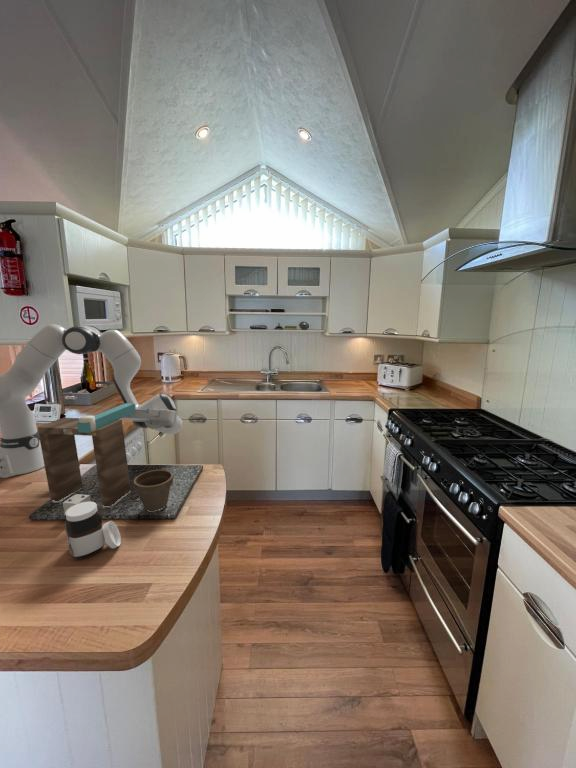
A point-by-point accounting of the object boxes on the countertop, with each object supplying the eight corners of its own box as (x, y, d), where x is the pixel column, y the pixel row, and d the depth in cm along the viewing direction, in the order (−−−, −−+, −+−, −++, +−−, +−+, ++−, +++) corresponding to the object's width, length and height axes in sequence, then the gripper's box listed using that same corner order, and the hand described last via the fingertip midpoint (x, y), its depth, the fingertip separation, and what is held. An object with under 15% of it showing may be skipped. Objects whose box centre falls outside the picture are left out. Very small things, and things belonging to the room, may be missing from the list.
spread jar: (66, 547, 88) (58, 507, 86) (112, 528, 96) (106, 490, 93) (77, 571, 79) (70, 527, 77) (127, 547, 87) (122, 507, 85)
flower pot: (183, 499, 110) (180, 471, 108) (160, 519, 99) (157, 488, 97) (153, 495, 113) (150, 467, 111) (128, 514, 102) (124, 483, 100)
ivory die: (65, 517, 101) (62, 501, 100) (78, 508, 106) (75, 492, 105) (79, 519, 100) (77, 502, 99) (92, 509, 105) (89, 493, 104)
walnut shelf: (50, 503, 109) (36, 427, 104) (75, 487, 119) (64, 417, 114) (110, 508, 105) (98, 430, 100) (131, 492, 115) (121, 419, 110)
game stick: (77, 432, 98) (75, 419, 98) (126, 411, 120) (124, 400, 119) (89, 432, 98) (87, 419, 97) (136, 411, 119) (134, 400, 118)
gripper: (135, 410, 138) (112, 401, 125) (181, 411, 134) (162, 402, 121) (132, 425, 136) (109, 418, 123) (178, 427, 132) (159, 419, 119)
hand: (136, 410), depth 122 cm, fingers open, 8 cm apart
